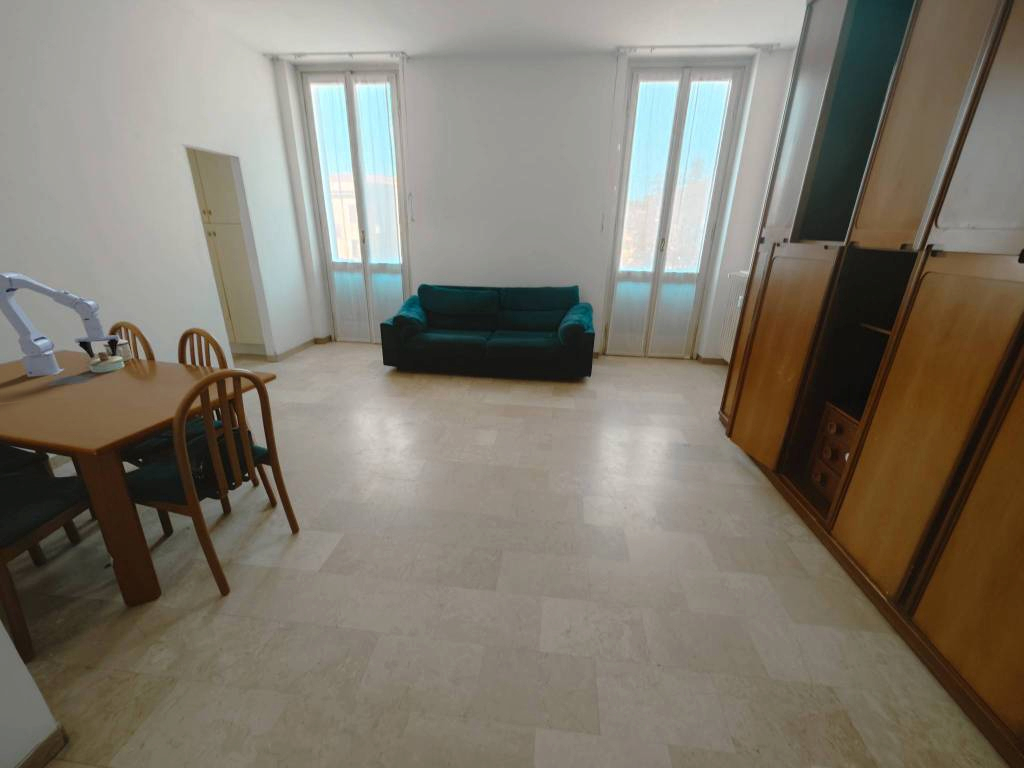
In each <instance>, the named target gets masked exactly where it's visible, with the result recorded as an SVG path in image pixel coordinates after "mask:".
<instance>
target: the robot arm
mask: <svg viewBox="0 0 1024 768" xmlns="http://www.w3.org/2000/svg"><path fill="white" fill-rule="evenodd" d="M19 289H20V290H21V289H26V290H29V291H30V290H31V291H33V292H36V293H38V294H41V295H44V296H47V297H48V298H49V297H50V298H52V299H53V302H55V303H57V304H60V305H62V306H64V307H67V308H70V309H72V310H74V312H75V313H76V314H78V315H79V316H80V318H81V321H82V324H83V327H84V330H85V333H86V336H85V337H76V338H74V342H75V344H78V346H79V347H80V348H81V349H82V350H83V351H85V353H87V355H88V356H89V358H91V359H95V357H96V356H95V353H94V351H93V348H92V343H95V342H107V343H108V345H109V346H110V348H111V351H112V354H113V356H116V355H117V353H116V348H117V343H118V340H120V339H121V337H120V335H119V334H114V335H106V333H105V329H104V326H103V323H102V321H101V318H100V315H99V312H98V311H99V309H100V306H99V304H98V303H97V302H96V301H95V300H93V299H90V298H89V299H85V298H84V297H82V296H81V297H80V296H77V295H75V294H73V293H71V291H69V290H64V289H63V290H56V289H54V288H51V287H50V286H47V285H45V284H43V283H42V282H41V283H40V282H38V280H35V279H32V278H30V277H28V276H27V275H25V274H21V273H20V272H16V271H8V272H1V273H0V311H1V313H2V314H3V315H4V316H5V318H6V319H7V320H8V322H9V323H10V325H11V326H12V327H13V328H14V330H15V331H16V332H17V334H18V335H19V338H18V344H19V346H20V350H21V352H22V353H23V354H24V356H23V357H22V358H21V363H22V366H23V368H24V370H25V373H26V375H27V378H31V377H42V376H51V375H57V374H59V373H60V372H62V371H64V370H65V368H60V367H59V363H58V362H57V359H56V356H55V354H54V351H53V350H54V348H55V343H54V341H52V339H50V338H48V337H47V336H46V334H45V333H42V332H40V331H38V330H37V328H36V327H35V326H34V325H33V323H32V322H31V320H30V318H29V317H28V316H27V315H26V313H25V312H24V310H23V309H22V307H21V306H20V305H19V304H18V302H17V301H16V299H15V298H14V294H15V293H16V292H17V290H19Z"/></svg>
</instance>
